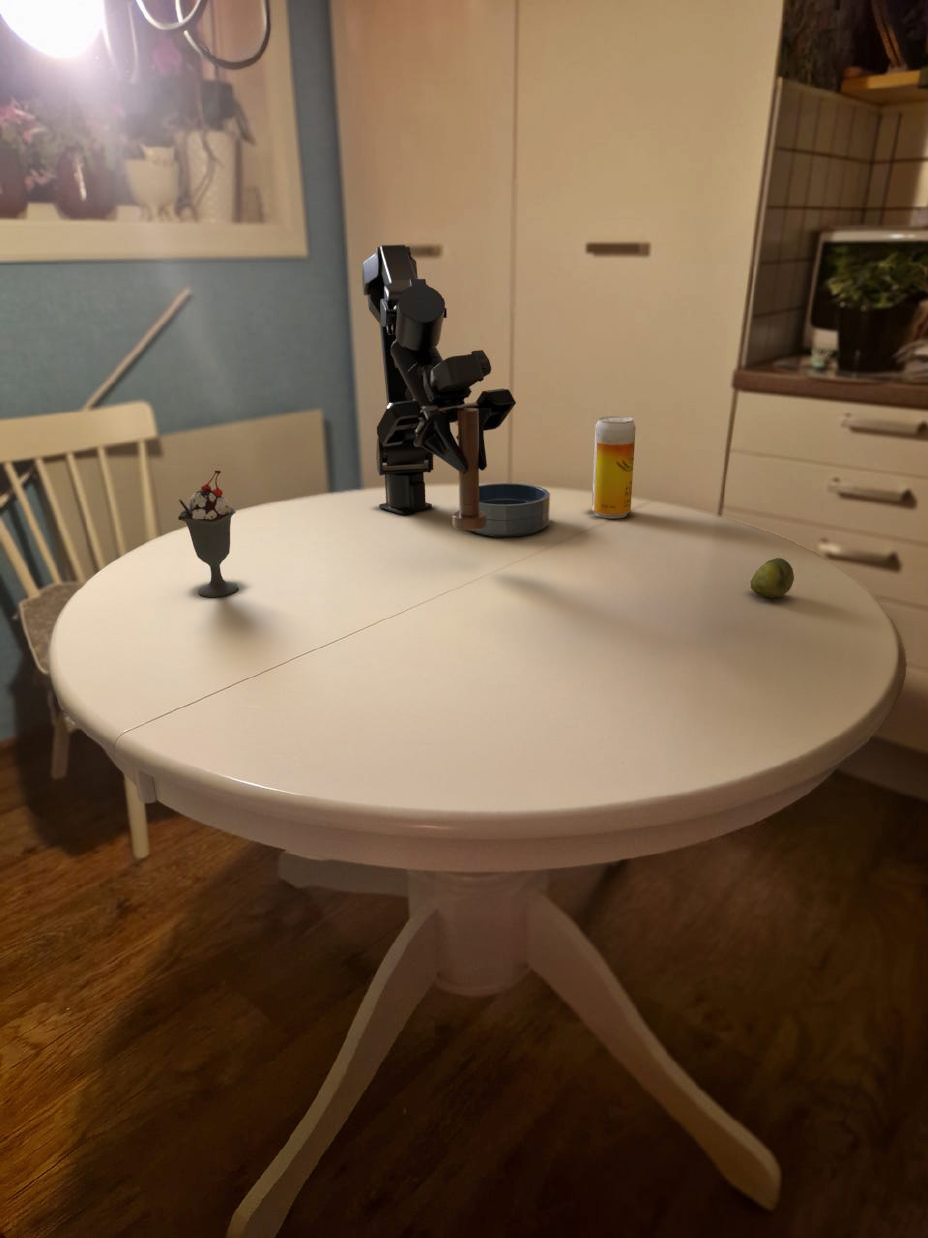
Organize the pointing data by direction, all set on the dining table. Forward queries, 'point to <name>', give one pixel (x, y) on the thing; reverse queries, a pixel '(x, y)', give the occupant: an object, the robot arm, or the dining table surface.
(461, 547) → the dining table surface
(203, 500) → the sundae
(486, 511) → the bowl
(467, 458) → the stick
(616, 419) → the beer can
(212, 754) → the dining table surface
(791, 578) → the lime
